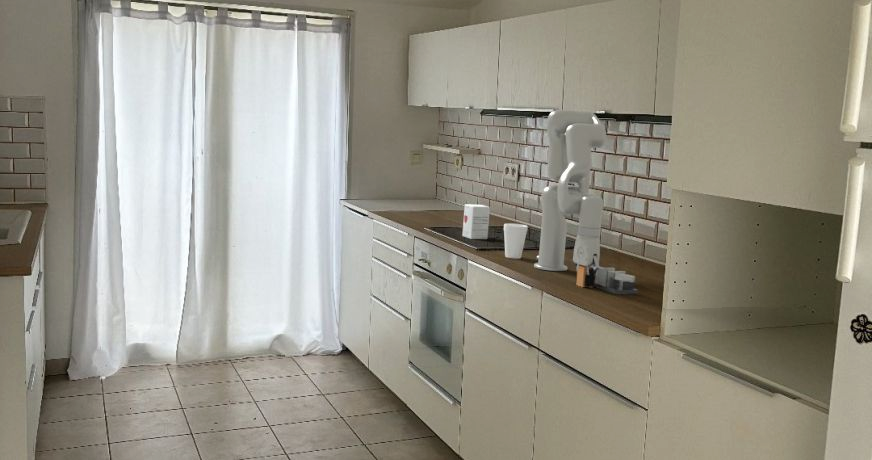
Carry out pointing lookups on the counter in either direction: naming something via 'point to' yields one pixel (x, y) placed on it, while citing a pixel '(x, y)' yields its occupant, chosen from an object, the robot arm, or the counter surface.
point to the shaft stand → (614, 281)
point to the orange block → (581, 275)
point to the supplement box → (476, 221)
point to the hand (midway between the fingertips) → (584, 284)
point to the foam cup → (514, 239)
